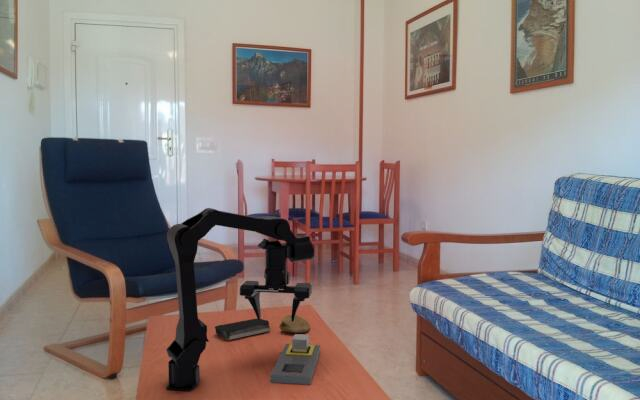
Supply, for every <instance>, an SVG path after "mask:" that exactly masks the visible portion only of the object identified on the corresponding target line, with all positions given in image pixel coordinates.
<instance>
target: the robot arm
mask: <svg viewBox="0 0 640 400" xmlns="http://www.w3.org/2000/svg"><path fill="white" fill-rule="evenodd" d="M215 226H219V227H224V228H231V229H237V230H238V229H239V230H241V231H242V230H243V231H249V232H254V233H257V234H260V235H263V236H265V237H268V238H271V239H274V240H271V241H270V240H269V239H267V238H263V239H262V241H261V242H259V243H258V244H257V247H258V248H259V249H262V250H265V253H264V254H265V261H264V263H265V269H264V274H263V275H264V276H263V277H264V279H265V281H264V283H265V284H260V282H259V281H258V280H245V281H244V283H242V284H241V285H240V286H239V296H241V297H242V296H243V297H244V299H246V300H248V302H249V303H250V305H251V307H252V309H253V311H254V313H255V316H256V319H258V320H260V319H262V318H261V315H262V313H261V312H262V311H261V301H260V297H261V295H260V294H261V293H271V294H273V293H275V294H276V293H277V294H293V295H294V297H293V299H292V304H291V305H292V306H291V307H292V309H291V315H292V317H291V318H292V322H293V321H294V318H295V315H297V311H298V309H299V306H300V304H301V302H305V300H306V299H310V297H311V294H312V284H311V283H309V282H296V285H294V286H293V285H290V276H291V272H290V271H288V260H289V261H290V262H292V263H295V262H305V261H312V259H313V258H314V255H315V248H314V246H313V243H312V241H311V237H310V236H309V235H300V236H296V235H295V234H294V233H293V231H292V230H291V225H290V222H289V221H288V220H287V219H285V218H281V217H279V216H275V215H266V216H265V215H262V216H250V215H246V214H241V213H233V212H228V211H223V210H218V209H214V208H212V207H211V208H210V207H208V208H207V207H205V208H204V209H203V210H201V211H200V212H199V213H196V215H193V216H192V217H189V218H187V219H186V220H184V221H182V222H181V223H176V224H173V225H172V226H170V228H169V229H168V230H167V233H166V238H167V239H166V240H167V243H168V246H169V247H168V248H169V250H170V252H171V255H172V258H173V260H174V265H175V278H176V287H177V288H176V289H177V302H178V303H177V304H178V315H179V319H178V322H177V325H176V328H175V336H174V337H175V338H174V340H173V341H172V342H171V344H169V346H168V347H167V348H166V349H165V350H166V353H167V356H168V357H169V358H170V360H169V361H168V368H167V369H168V384H167V385H166V386H165V389H166V390H168V391H169V390H170V391H187V392H189V391H193V389H194V388H195V387H196V386H197V385H198V384H199V382H200V381H201V377H200V365H199V361H200V358H201V354H203V352H204V351H205V350H206V347H207V343H209V339H208V335H207V334H208V325H207V324H206V323H205V322H203V321H202V320H201V319H200V318H199V316H198V313H199V311H198V302H197V290H196V289H197V288H196V274H195V273H196V272H195V259H196V255H197V253H198V248H199V241H201V240H202V239H203V238H204V237H205V236H206V235H208V233H209V232H210V231H211V230H212V229H213V228H214V227H215ZM280 241H282V242H280Z"/></svg>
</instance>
